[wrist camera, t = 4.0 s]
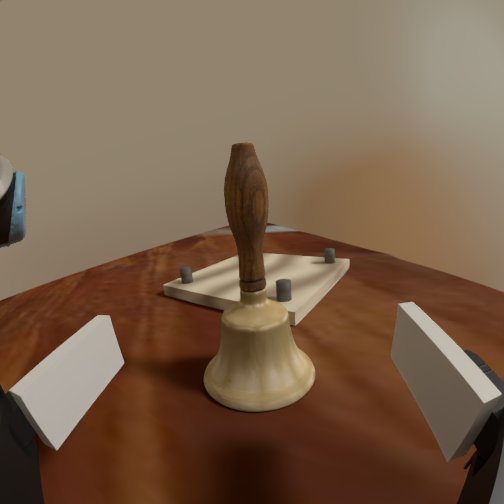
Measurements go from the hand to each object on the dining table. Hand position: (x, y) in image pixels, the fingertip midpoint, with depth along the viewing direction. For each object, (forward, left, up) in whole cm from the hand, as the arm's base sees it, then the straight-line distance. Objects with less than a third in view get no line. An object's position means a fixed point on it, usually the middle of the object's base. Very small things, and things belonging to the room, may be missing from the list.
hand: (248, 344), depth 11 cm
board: (-15, +24, -7) cm, 29 cm away
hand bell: (-4, +6, -7) cm, 10 cm away
